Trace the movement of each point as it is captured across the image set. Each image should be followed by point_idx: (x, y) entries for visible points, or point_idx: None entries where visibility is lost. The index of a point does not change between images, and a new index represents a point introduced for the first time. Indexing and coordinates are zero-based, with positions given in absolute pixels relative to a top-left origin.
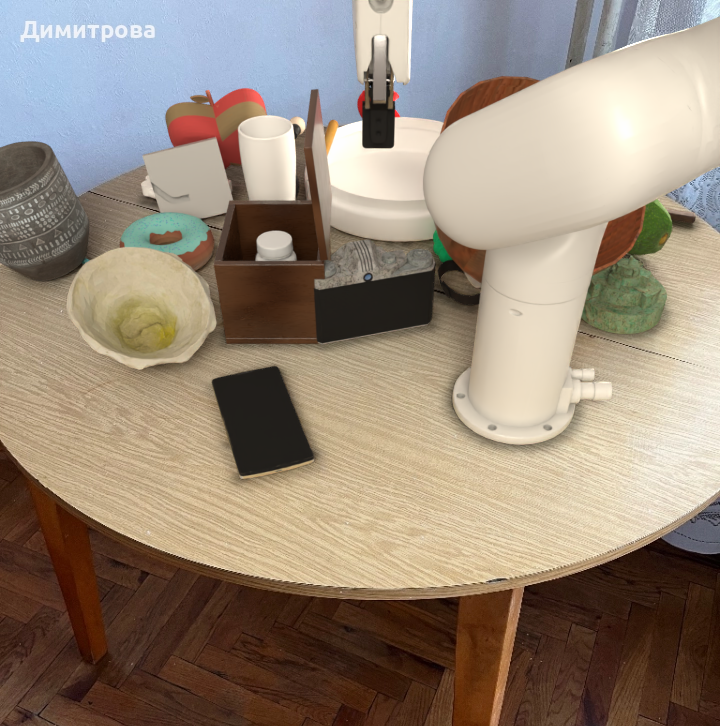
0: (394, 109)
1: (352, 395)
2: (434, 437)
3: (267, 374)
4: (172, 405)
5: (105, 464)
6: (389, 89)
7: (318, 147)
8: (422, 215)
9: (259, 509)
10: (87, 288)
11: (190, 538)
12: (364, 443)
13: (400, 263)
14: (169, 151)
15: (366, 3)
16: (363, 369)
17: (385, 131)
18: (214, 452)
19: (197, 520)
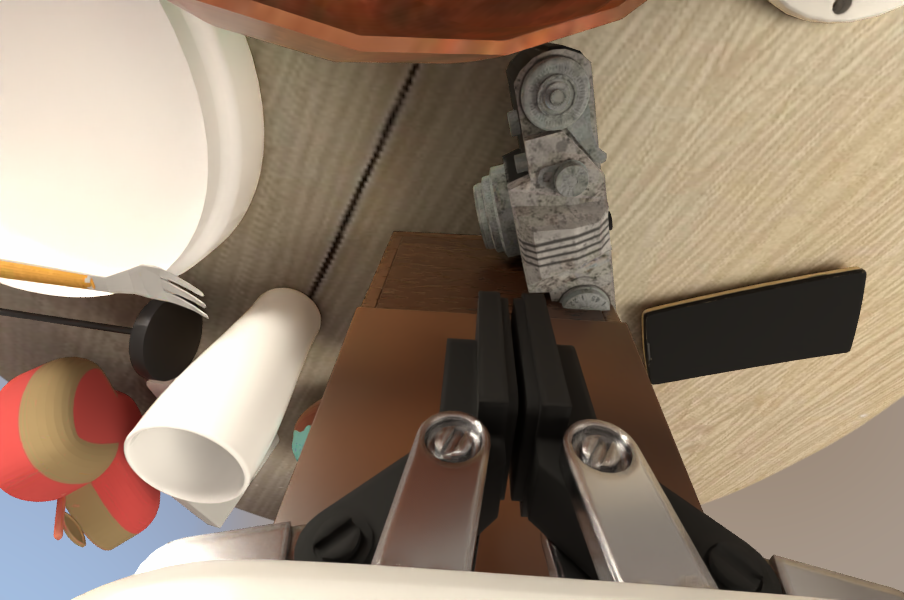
0: (568, 402)
1: (722, 207)
2: (890, 70)
3: (662, 327)
4: (664, 409)
5: (739, 453)
6: (736, 587)
7: None
8: (212, 42)
9: (894, 323)
10: None
11: (896, 383)
12: (842, 193)
13: (579, 148)
14: (197, 506)
15: None
16: (662, 187)
17: (578, 371)
18: (767, 368)
19: (872, 378)
